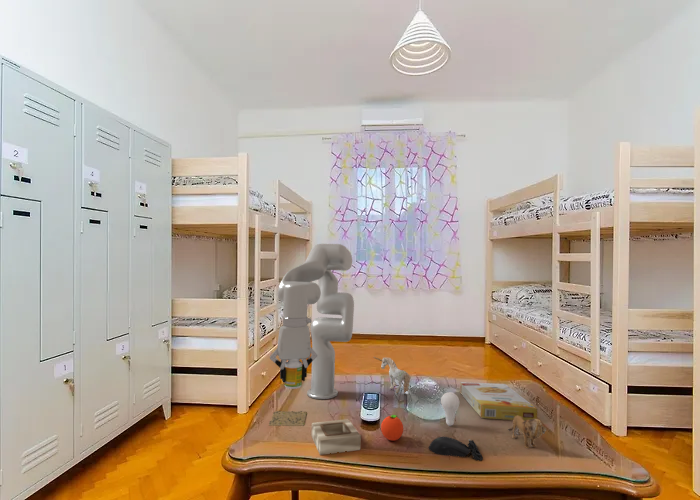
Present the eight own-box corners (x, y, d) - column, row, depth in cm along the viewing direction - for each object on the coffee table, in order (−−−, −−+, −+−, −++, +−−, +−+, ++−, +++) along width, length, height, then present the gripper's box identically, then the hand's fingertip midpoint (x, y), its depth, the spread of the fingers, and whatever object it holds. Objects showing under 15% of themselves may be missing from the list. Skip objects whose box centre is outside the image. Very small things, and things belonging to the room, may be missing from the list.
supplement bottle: (298, 389, 112) (299, 357, 112) (281, 388, 113) (282, 356, 114) (304, 384, 117) (304, 353, 118) (288, 382, 118) (289, 352, 119)
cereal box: (481, 404, 130) (458, 380, 159) (481, 420, 130) (458, 393, 158) (538, 407, 130) (505, 382, 158) (538, 423, 130) (505, 395, 158)
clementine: (387, 431, 119) (387, 409, 119) (407, 436, 116) (407, 413, 116) (377, 441, 112) (377, 417, 112) (398, 447, 109) (399, 422, 109)
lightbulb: (460, 424, 126) (460, 391, 126) (457, 431, 120) (458, 396, 121) (442, 420, 128) (442, 388, 129) (439, 427, 123) (439, 393, 123)
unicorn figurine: (382, 383, 168) (383, 354, 169) (418, 395, 154) (418, 362, 155) (372, 387, 163) (373, 356, 164) (408, 399, 149) (408, 365, 150)
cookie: (267, 427, 121) (267, 424, 121) (274, 412, 133) (274, 410, 133) (304, 427, 121) (304, 424, 121) (307, 413, 133) (307, 410, 133)
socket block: (311, 436, 114) (311, 422, 114) (348, 431, 118) (348, 418, 118) (319, 455, 103) (320, 439, 103) (360, 449, 106) (360, 434, 107)
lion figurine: (549, 452, 107) (549, 421, 108) (534, 454, 106) (534, 422, 107) (514, 430, 122) (514, 403, 122) (501, 432, 120) (501, 404, 121)
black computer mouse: (427, 442, 113) (427, 429, 113) (475, 445, 111) (476, 432, 112) (430, 458, 103) (430, 444, 103) (484, 463, 101) (484, 448, 102)
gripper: (318, 320, 122) (317, 375, 121) (266, 321, 117) (264, 378, 116) (324, 323, 115) (322, 382, 114) (268, 325, 110) (266, 386, 109)
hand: (293, 379), depth 115 cm, fingers closed on supplement bottle, 5 cm apart
